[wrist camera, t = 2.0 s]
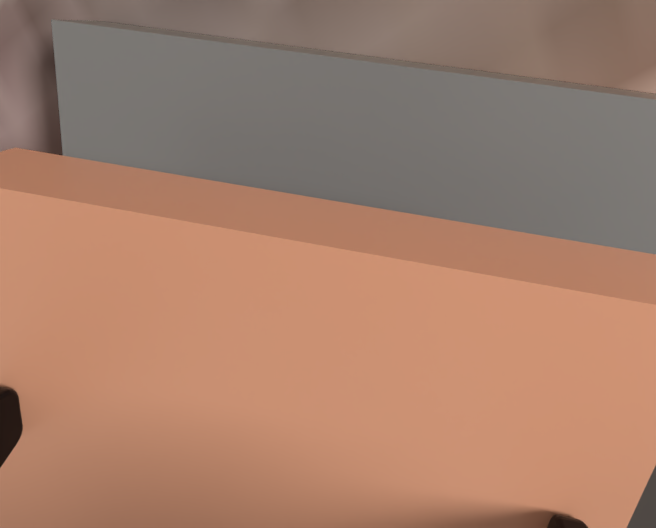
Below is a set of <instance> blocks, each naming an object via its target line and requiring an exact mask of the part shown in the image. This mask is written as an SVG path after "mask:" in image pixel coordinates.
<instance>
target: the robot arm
mask: <svg viewBox="0 0 656 528" xmlns="http://www.w3.org/2000/svg"><path fill="white" fill-rule="evenodd" d="M22 430H23V424H22V417H21V410H20V403H19V397H18V394H17V392H16V391H15V390H13V389H10V388H5V387H1V386H0V468H1V466H2V465H3V463H4V462H5V461H6V459H7V458H8V456H9V455H10V453H11V452H12V450H13V449H14V447H15V446H16V444H17V443H18V441H19V439H20V437H21V435H22ZM547 528H588V526H587V525H586V524H585V523H584V522H583V521H581V520H579V519H576V518H572V517H568V516H563V515H559V514H557V515H553V516H552V518H551V519H550V521H549V524H548V526H547Z"/></svg>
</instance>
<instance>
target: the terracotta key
mask: <svg viewBox="0 0 656 528" xmlns="http://www.w3.org/2000/svg"><path fill="white" fill-rule="evenodd" d="M0 386H1V387H5V388H10V389H13V390H15V391H16V392H17V394H18V397H19V403H20V410H21V417H22V424H23V430H22V435H21V437H20V439H19V441H18V443H17V444H16V446H15V447H14V449H13V450H12V452H11V453H10V455H9V456H8V458H7V459H6V461H5V462H4V463H3V465H2V466H1V468H0V528H547V526H548V524H549V521H550V519H551V518H552V516H553V515H557V514H559V515H563V516H568V517H572V518H576V519H579V520H581V521H583V522H584V523H585V524H586V525H587V526H588V528H627V526H628V524H629V521H630V519H631V517H632V515H633V513H634V511H635V508H636V506H637V504H638V502H639V500H640V498H641V496H642V493H643V491H644V489H645V487H646V485H647V483H648V480H649V478H650V476H651V474H652V472H653V470H654V468H655V465H656V254H650V253H644V252H638V251H632V250H626V249H620V248H614V247H608V246H602V245H596V244H590V243H584V242H578V241H572V240H566V239H560V238H554V237H548V236H542V235H536V234H530V233H524V232H518V231H512V230H506V229H500V228H494V227H488V226H482V225H476V224H470V223H464V222H458V221H452V220H446V219H440V218H434V217H428V216H422V215H416V214H410V213H404V212H398V211H392V210H386V209H380V208H374V207H368V206H362V205H356V204H350V203H344V202H338V201H332V200H326V199H320V198H314V197H308V196H302V195H296V194H290V193H284V192H278V191H272V190H266V189H260V188H254V187H248V186H242V185H236V184H230V183H224V182H218V181H212V180H206V179H200V178H194V177H188V176H182V175H176V174H170V173H164V172H158V171H152V170H146V169H140V168H134V167H128V166H122V165H116V164H110V163H104V162H98V161H92V160H86V159H80V158H74V157H68V156H62V155H56V154H50V153H44V152H38V151H32V150H26V149H20V148H13V149H9V150H5V151H2V152H0Z"/></svg>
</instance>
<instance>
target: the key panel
mask: <svg viewBox="0 0 656 528" xmlns="http://www.w3.org/2000/svg"><path fill="white" fill-rule="evenodd" d="M51 22H52V34H53V46H54V58H55V70H56V81H57V93H58V105H59V117H60V129H61V141H62V153H63V156H68V157H74V158H80V159H86V160H92V161H98V162H104V163H110V164H116V165H122V166H128V167H134V168H140V169H146V170H152V171H158V172H164V173H170V174H176V175H182V176H188V177H194V178H200V179H206V180H212V181H218V182H224V183H230V184H236V185H242V186H248V187H254V188H260V189H266V190H272V191H278V192H284V193H290V194H296V195H302V196H308V197H314V198H320V199H326V200H332V201H338V202H344V203H350V204H356V205H362V206H368V207H374V208H380V209H386V210H392V211H398V212H404V213H410V214H416V215H422V216H428V217H434V218H440V219H446V220H452V221H458V222H464V223H470V224H476V225H482V226H488V227H494V228H500V229H506V230H512V231H518V232H524V233H530V234H536V235H542V236H548V237H554V238H560V239H566V240H572V241H578V242H584V243H590V244H596V245H602V246H608V247H614V248H620V249H626V250H632V251H638V252H644V253H650V254H656V94H653V93H646V92H638V91H631V90H623V89H615V88H608V87H600V86H593V85H585V84H577V83H570V82H562V81H554V80H547V79H539V78H532V77H524V76H516V75H509V74H501V73H493V72H486V71H478V70H471V69H463V68H455V67H448V66H440V65H432V64H425V63H417V62H410V61H402V60H394V59H387V58H379V57H371V56H364V55H356V54H349V53H341V52H333V51H326V50H318V49H310V48H303V47H295V46H288V45H280V44H272V43H265V42H257V41H250V40H242V39H234V38H227V37H219V36H211V35H204V34H196V33H189V32H181V31H173V30H166V29H158V28H150V27H143V26H135V25H128V24H120V23H112V22H105V21H82V20H51ZM627 528H656V465H655V468H654V470H653V472H652V474H651V476H650V478H649V480H648V483H647V485H646V487H645V489H644V491H643V493H642V496H641V498H640V500H639V502H638V504H637V506H636V508H635V511H634V513H633V515H632V517H631V519H630V521H629V524H628V526H627Z"/></svg>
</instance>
